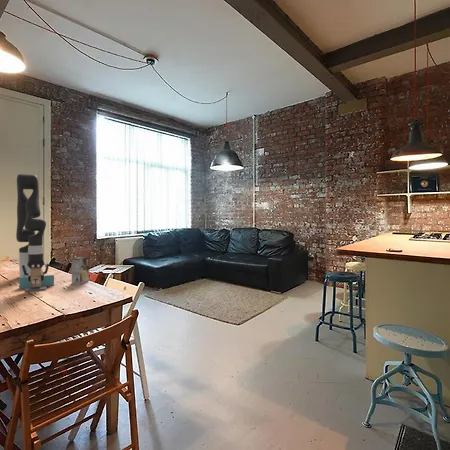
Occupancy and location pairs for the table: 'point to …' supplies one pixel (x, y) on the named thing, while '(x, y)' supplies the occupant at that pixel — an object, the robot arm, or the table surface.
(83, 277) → the coffee box
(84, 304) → the table surface
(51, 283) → the teal board
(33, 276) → the wooden block
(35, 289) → the dark gray upright panel
